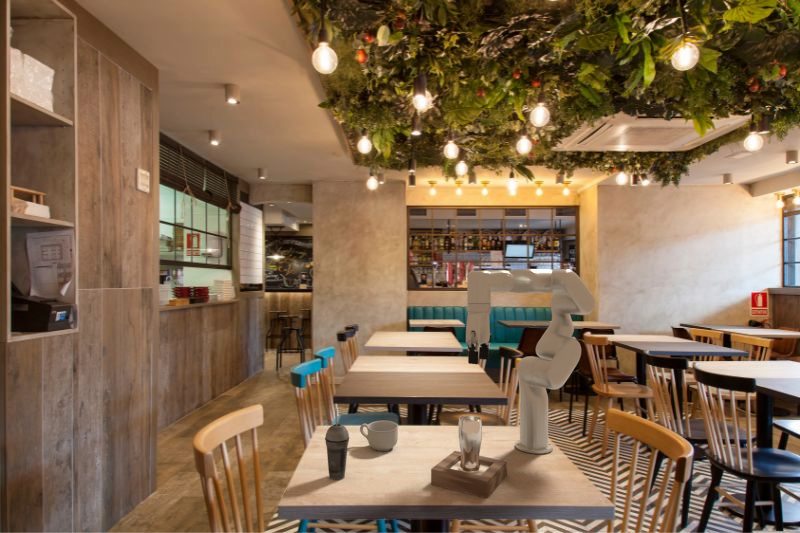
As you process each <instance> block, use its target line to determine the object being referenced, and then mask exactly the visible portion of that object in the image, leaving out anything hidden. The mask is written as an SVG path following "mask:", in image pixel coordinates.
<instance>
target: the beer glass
mask: <svg viewBox="0 0 800 533" xmlns="http://www.w3.org/2000/svg"><path fill="white" fill-rule="evenodd" d="M482 424H483V423H482V417H481V416H478V415H474V414H463V415H460V416H458V425H457V426H458V431H457V434H458V435H457V437H458V443H459V444H458V445H459V450H460V452H461V463H460V470H461V471H464V472H468V473H477V472H479V471H480V469H481V468H480V462H479V456H480V452H481V447H482V440H483V425H482Z"/></svg>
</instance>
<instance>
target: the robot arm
mask: <svg viewBox="0 0 800 533" xmlns="http://www.w3.org/2000/svg"><path fill="white" fill-rule="evenodd" d="M466 282H467V285H466V286H467V292H466V294H467V299H466V300H467V304H466V305H467V307H466V310H467V311H466V312H467V320H466V327H465V328H466V330H465V343H466V344H467V345H466V346H467V357H468V358H467V361H468V364H469V365H479V360H484V361H485V360H486V361H488V360H490V338H491V337H490V336H491V335H490V334H491V330H490V329H491V325H490V314H491V312H492V311H491V309H492V308H491V307H492V306H491V305H492V304H491V302H492V301H491V300H492V299H491V298H492V296H491V294H492V293H494V294H496V293H497V294H504V293H515V294H516V293H517V294H552V295H551V296H550V302H549V304H550V310H551V322H550V324H549V325H548V327H547V328H546V330H545V331H544V333H543V334H542V335H541V338H540V339H539V340H538V342H537V343H536V346H535V353H536V355H537V356H533V355H531V356H525V357H523V358H521V359H520V360H519V361H518V364H517V366H516V368H517V369H516V375H517V380H518V386H519V439H517V441H515V445H514V446H515V448H516V449H517V450H519V451H521V452H524V453H529V454H535V455H537V454H539V455H541V454H548V453H551V452H552V451H553V448H554V446H553V444H552V443H551V442H549V396H548V393H547V390H546V389H549V390H558V389H560V388H562V387H564V385H565V383H566V382H567V380H568V379H569V378H570V376H571V374H572V373H573V372H574V369H575V368H576V367H577V365H578V363H579V361H580V358H581V356H582V347H581V343H580V342H579V341H578V340H577V339H576V338H574V337H572V336H573V334H574V331H575V326H574V323H573V320H572V316H571V315H576V316H577V315H579V316H586V315H590V314H591V313H592V312H593V311H594V310H595V306H596V300H595V296H594V295H593V293H592V291H591V290H590V289H589V288H588V286H587V285H586V284H585V282H584V281H583V280H582V278H581V277H580V276H579V275H578V274H577V273H576V272H575V271H573V270H571V269H568V268H567V269H565V268H563V269H561V268H560V269H553V268H552V269H551V268H549V269H546V268H521V269H511V270H509V269H506V270H503V269H501V270H500V269H499V270H497V269H489V270H487V269H486V270H471V271H469V272H468V273H467V281H466Z"/></svg>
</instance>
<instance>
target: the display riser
mask: <svg viewBox="0 0 800 533" xmlns="http://www.w3.org/2000/svg"><path fill="white" fill-rule="evenodd" d="M479 462H480V468H481V469H480V471H479V472H477V473H468V472H464V471H461V470H460V463H461V451H457V450H454V451H452V452H451V453H449V455H447V456H446V457H445V458H443V459H442V460H441V461H439V462H438V463H437V464H436V465H434V466H433V467H431V469H430V485H432V486H435V487H439V488H443V489H448V490H452V491H456V492H461V493H464V494H469V495H473V496H477V497H481V498H485V499H488V498H490V496H491V495H492V494H493V492H494V491H495V490H496V489H497V488H498V487H499V486H500V485H501V484H502V483H503V481H504V480H505V479H506V478H507V477H508V461H507V460H503V459H499V458H495V457H494V458H493V457H489V456H482V455H479Z"/></svg>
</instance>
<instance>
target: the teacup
mask: <svg viewBox="0 0 800 533" xmlns="http://www.w3.org/2000/svg"><path fill="white" fill-rule="evenodd" d="M364 427H365V428H366V430H367V433H366V432H365V430H364ZM398 430H399V424H398V423H396V422H395V421H391V420H376V421H372V422H370V423H368V424H367V423H362V424H360V427H359V432H360V434H361V435H362V436H363V437H364V438H365V439H366V440H367V441H368V445H369V446H370V447H372V449H374V450H375V451H378V452H386V451H390V450H392V449H393V448H394V447H395V446H396V445H397V443H398V439H399V438H398V437H399V431H398Z"/></svg>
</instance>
